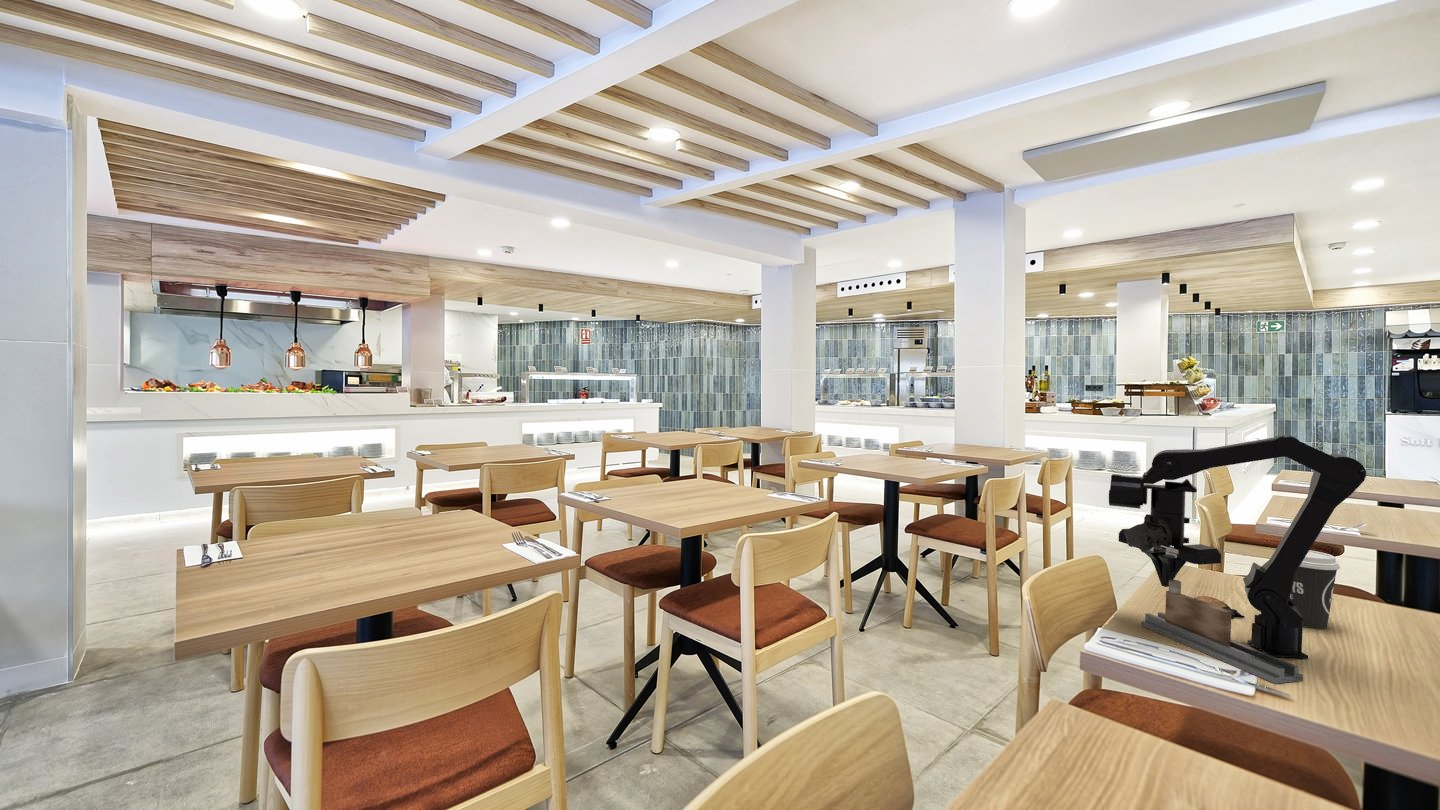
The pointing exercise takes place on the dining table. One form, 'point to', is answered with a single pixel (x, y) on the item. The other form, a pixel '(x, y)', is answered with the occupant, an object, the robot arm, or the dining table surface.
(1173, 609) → the screen
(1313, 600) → the coffee cup
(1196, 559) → the robot arm
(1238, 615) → the bread roll
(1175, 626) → the track
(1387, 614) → the dining table surface
